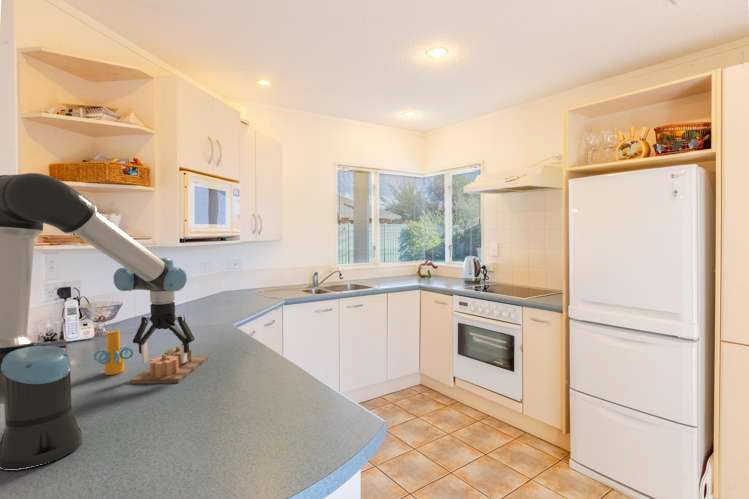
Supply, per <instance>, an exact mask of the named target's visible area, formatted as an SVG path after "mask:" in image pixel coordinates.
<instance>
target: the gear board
mask: <svg viewBox="0 0 749 499" xmlns="http://www.w3.org/2000/svg"><path fill="white" fill-rule="evenodd" d="M161 356H162V361H166V360H167V356H173V357H175V356H178V357H179V371H178V372H177V373H172V375H168V376H166V375H164V376H161V377H156V376H155V375H154V376H151V375H150V367H148V368H147V369H145V370H144V371H142V372H140V373H139V374H137V375H135V376H134V377H133V378H131V379H129V383H130V384H176V383H177V384H179V383H181V381H182V380H184V379H185V378H186V377H187V376H189V375H190V374H192V373H193V372H194V371H195V370H196V369H198V368H199V367H200V366H202V364H204V363H205V362H206V361H208V356H192V348H189V352H188V353H187V361H186V362H184V363H181V345H180V346H178V345H177V346H175V348H174V349H173V348H171V349H168V350H167V351H165V352H164V354H162V355H161Z"/></svg>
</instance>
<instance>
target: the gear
mask: <svg viewBox="0 0 749 499" xmlns="http://www.w3.org/2000/svg"><path fill="white" fill-rule="evenodd" d="M149 368H150V375H151V376H154V375H155V376H156V377H161V376H164V375H166V376H168V375H172V373H177V372H178V371H179V357H178V356H175V357H173V356H167V360H166V361H162V355H161V356H158V357H157V358H152V359H150V361H149Z"/></svg>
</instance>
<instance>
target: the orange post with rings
mask: <svg viewBox="0 0 749 499" xmlns="http://www.w3.org/2000/svg"><path fill="white" fill-rule="evenodd" d="M120 332H121V331H120V329H112V330H107V331H105V333H106V350H104V349H100V350H96V351H95V352H94V354H93V359H94V361H96V362H98V364H100V365H104V366H103V369H104V375H106V376H113V375H118V374H121V373H123V372H124V371H125V360H129V359H131V358H132V357H133V356H134V350H133V349H132V348H131V347H128V346H127V345H125V344H123V345H121V333H120ZM129 351H130V354H129V355H128V356H127V354H128V353H129ZM98 354H99V356H98V358H97V355H98ZM103 356H104V358H102V357H103Z"/></svg>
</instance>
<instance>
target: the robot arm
mask: <svg viewBox="0 0 749 499" xmlns="http://www.w3.org/2000/svg"><path fill="white" fill-rule="evenodd" d="M44 225H49V226H52V227H54V228H56V229H57V230H59V231H61V232H62V233H64V234H74V235H75V236H77V237H78V238H80V239H81V240H83V241H84V242H86V243H87V244H88V245H90V246H92V247H93V248H95V249H97V250H98V251H99V252H101V253H102V254H104V255H106V256H107V257H109V258H110V259H112V260H113V261H115V262H116V263H117V264H119V265H120V266H123V267H120V268H117V269H116V270H115V272H114V273H113V276H112V277H113V284H114V287H115V288H116V289H117V290H118V291H120V292H132V291H136V290H137V291H140V290H142V291H149V302H150V303H151V304H150V306H149V307H150V316H149V315H145V316H141V318H140V320H141V321H140V322H141V323H140V324H139V326H138V329H137V331H136V334H135V336H134V337H133V339H132V343H133V344H137V345H138V352H139V355H140V354H141V364H142V365H143V364H146V363H148V362H149V344H148V342H147V341H148V339H150V337H151V336H152V334H153V333H154V332H155V331H156V330H169V331H171V332H172V333H173V334H174V335H175V336H176V337H177V338H178V339H179V341H180V342H182V343H181V344H180V348H181V363H184V362H186V361H187V353H188V352H189V349H190V343H193V342H194V341H195V337H194V335H193V333H192V331H191V329H190V328H189V325H188V323H187V322H186V318H185V317H186V316H185V315H184V314H181V315H179V316H178V315H177V316H176V314H175V313H176V304H175V302H174V301H175V300H176V299H175V292H180V291H181V290H182V289H183V288H184V287H185V286H186V283H187V280H188V279H187V278H188V277H187V273H186V271H185V270H184V269H183V268H181V267H177V266H174V261H173V258H171V257H158V256H156V254H154V253H153V252H152V251H150V250H148V249H147V248H146V247H145V246H143V245H142V244H141V243H139V242H138V241H137V240H135V239H134V238H133V237H131V236H130V235H129V234H127V233H126V232H125V231H123V230H122V229H121V228H119V227H118V226H117V225H116V224H114V223H113V222H112V221H110V219H107V218H106V217H105V216H104V215H102V214H101V213H100V212H98V211H97V205H96V204H95V203H94V202H92V201H91V200H89V198H87V197H86V196H85V195H83V194H82V193H80V192H79V191H77V190H76V189H74V188H73V187H71V186H70V185H68V184H66V183H65V182H64V181H61V180H59V179H57V178H55V177H52V176H50V175H47V174H43V173H36V172H30V173H29V172H28V173H21V174H19V173H18V174H1V175H0V404H2V405H4V406H3V408H4V424H5V425H4V426H5V427H4V430H3V433H2V436H1V438H0V439H1V440H0V467H1V468H3V469H19V468H26V467H31V466H36V465H40V464H45V463H48V462H51V461H54V460H56V459H58V458H61V457H63V456H65V455H67V454H69V453H70V454H72V453H73V452H75V451H76V450H77V449H78V448H79V447H80V446H81V445H82V443H83V431H82V429H81V427H80V426H79V424H78V422H77V419H76V418H75V415H74V413H73V409H72V386H71V385H72V382H71V381H72V380H71V379H72V378H71V369H72V365H71V360H70V355H69V352H68V351H67V350H66V349H65V348H62V347H59V346H54V345H45V346H42V345H35V339H34V338H33V337H31V335H29V334H28V325H29V312H30V301H31V300H30V299H31V289H32V288H31V286H32V275H33V260H34V250H35V239H36V238H37V237H38V236H40V235H41V234H43V232H44ZM149 322H151V323H152V324H151V325H150V326H149V328H148V330H147V331H146V332H145V330H146V329H147V326H148V324H149ZM176 322H177V323H178V325H179V326H180V328H181V329H180V328H179V327H178V325H177V323H176ZM75 449H76V450H75ZM74 450H75V451H74ZM72 451H73V452H72ZM71 452H72V453H71ZM70 454H69V455H70ZM67 456H68V455H67ZM65 457H66V456H65ZM63 458H64V457H63ZM61 459H62V458H61ZM56 461H57V460H56ZM54 462H55V461H54ZM51 463H52V462H51ZM48 464H49V463H48ZM45 465H46V464H45Z"/></svg>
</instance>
